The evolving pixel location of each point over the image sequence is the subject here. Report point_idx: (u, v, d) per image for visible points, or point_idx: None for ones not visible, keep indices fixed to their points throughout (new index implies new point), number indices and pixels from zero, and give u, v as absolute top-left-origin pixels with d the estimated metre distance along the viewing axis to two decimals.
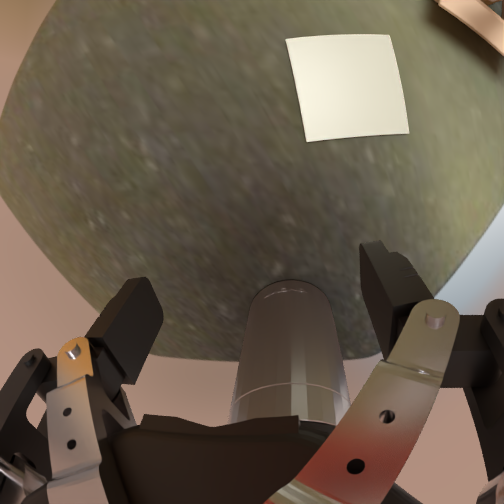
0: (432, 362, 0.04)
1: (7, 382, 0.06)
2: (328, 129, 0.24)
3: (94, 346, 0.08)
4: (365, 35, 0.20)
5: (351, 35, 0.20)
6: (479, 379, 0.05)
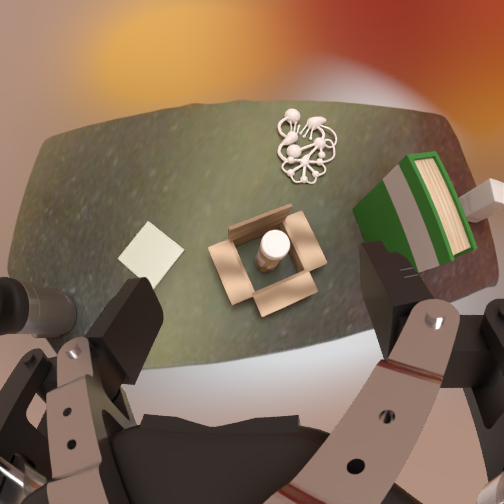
0: (432, 362, 0.04)
1: (7, 382, 0.06)
2: (127, 261, 0.56)
3: (94, 346, 0.08)
4: (174, 242, 0.57)
5: (169, 238, 0.57)
6: (479, 379, 0.05)
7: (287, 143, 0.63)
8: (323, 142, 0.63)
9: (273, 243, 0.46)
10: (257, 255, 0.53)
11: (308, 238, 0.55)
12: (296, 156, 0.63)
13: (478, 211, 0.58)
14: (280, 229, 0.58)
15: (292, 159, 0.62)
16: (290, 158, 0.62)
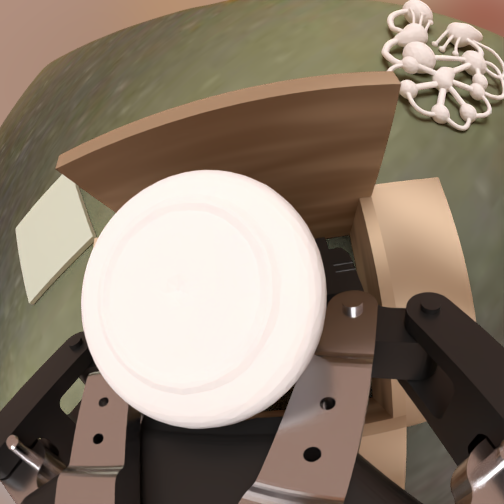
0: (335, 347, 0.06)
1: (47, 362, 0.07)
2: (21, 237, 0.24)
3: None
4: (84, 216, 0.22)
5: (80, 205, 0.23)
6: (416, 374, 0.06)
7: (405, 40, 0.20)
8: (482, 59, 0.17)
9: (153, 284, 0.05)
10: None
11: (447, 291, 0.11)
12: (424, 63, 0.19)
13: None
14: (354, 233, 0.16)
15: (413, 61, 0.18)
16: (407, 58, 0.18)
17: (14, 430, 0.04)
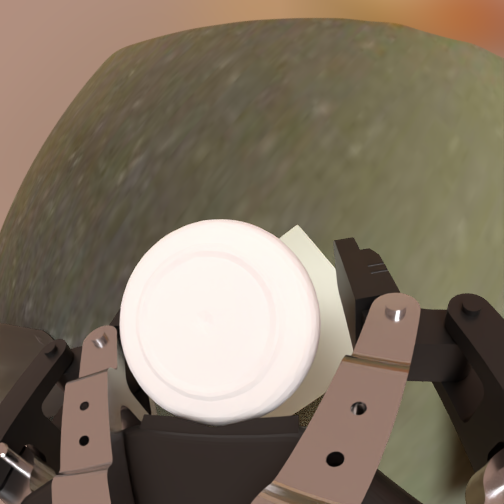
0: (386, 352, 0.05)
1: (25, 371, 0.06)
2: None
3: None
4: None
5: None
6: (449, 375, 0.05)
7: None
8: None
9: (185, 316, 0.06)
10: None
11: None
12: None
13: None
14: None
15: None
16: None
17: (2, 438, 0.04)
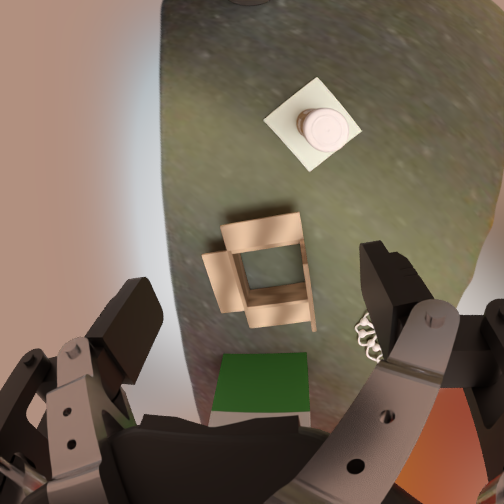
0: (432, 362, 0.04)
1: (7, 382, 0.06)
2: (310, 89, 0.36)
3: (94, 346, 0.08)
4: (322, 160, 0.40)
5: (329, 154, 0.40)
6: (479, 379, 0.05)
7: None
8: None
9: (328, 126, 0.26)
10: None
11: (280, 318, 0.48)
12: None
13: None
14: (303, 288, 0.49)
15: None
16: None
17: None
